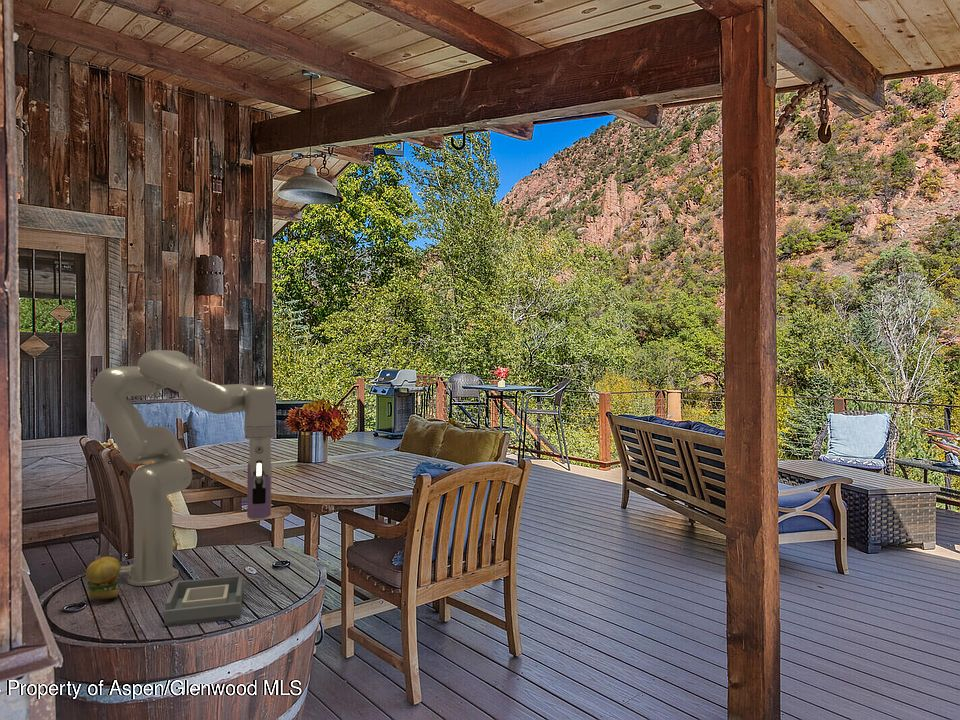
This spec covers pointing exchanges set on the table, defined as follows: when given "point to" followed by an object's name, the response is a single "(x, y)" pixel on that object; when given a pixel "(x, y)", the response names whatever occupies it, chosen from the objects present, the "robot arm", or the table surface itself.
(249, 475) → the beverage can
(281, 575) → the table surface
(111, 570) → the hamburger
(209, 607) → the box
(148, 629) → the table surface
